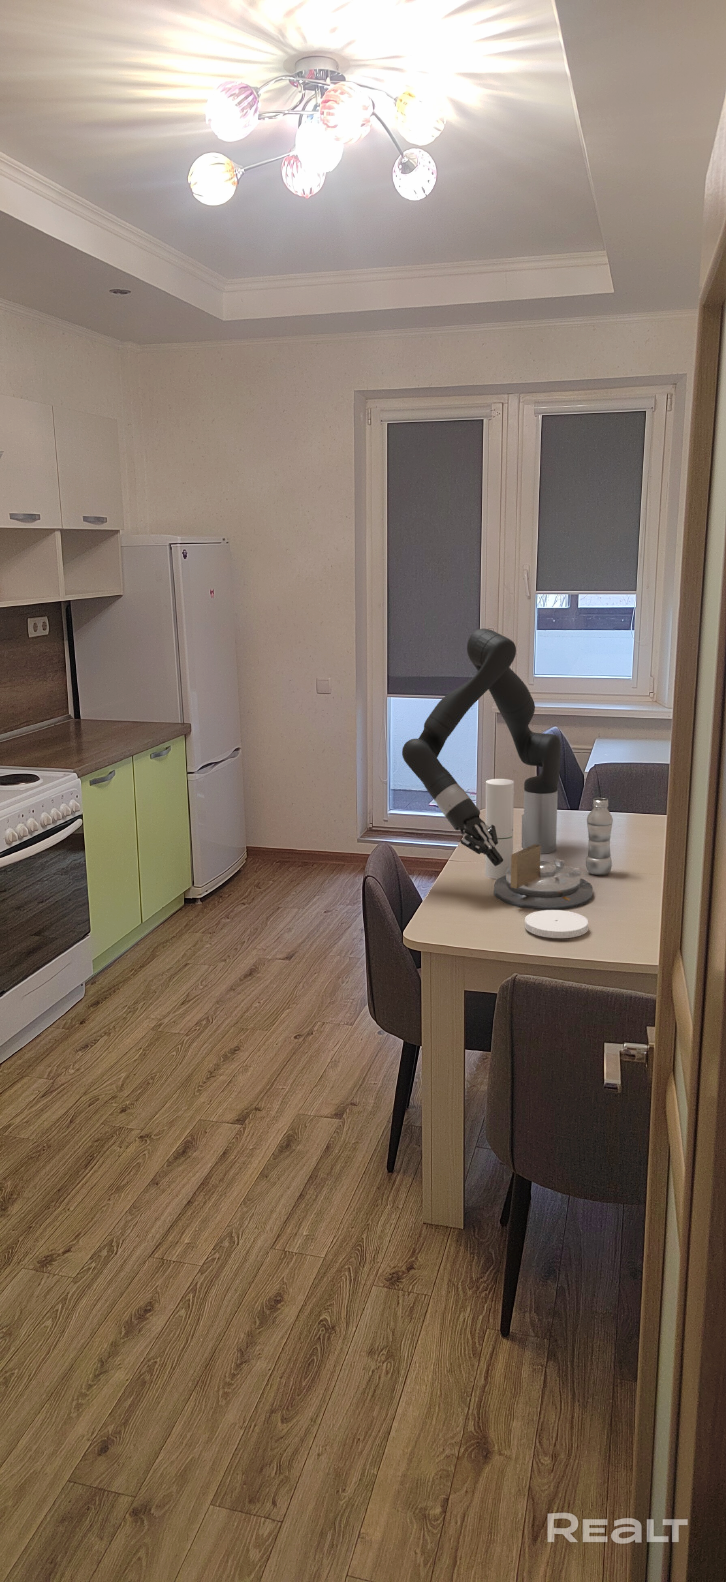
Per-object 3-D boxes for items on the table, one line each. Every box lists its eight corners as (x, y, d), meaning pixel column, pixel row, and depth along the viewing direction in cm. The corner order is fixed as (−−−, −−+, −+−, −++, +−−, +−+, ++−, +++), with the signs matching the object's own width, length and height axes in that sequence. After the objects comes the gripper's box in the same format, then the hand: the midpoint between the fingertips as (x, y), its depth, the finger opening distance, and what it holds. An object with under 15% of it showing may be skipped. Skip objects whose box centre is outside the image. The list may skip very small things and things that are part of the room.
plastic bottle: (612, 878, 268) (614, 802, 263) (585, 877, 269) (587, 802, 265) (611, 870, 274) (614, 796, 270) (585, 869, 275) (587, 796, 271)
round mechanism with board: (529, 869, 269) (530, 828, 266) (593, 882, 258) (594, 839, 255) (481, 892, 251) (481, 849, 249) (547, 907, 240) (548, 861, 238)
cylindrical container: (514, 872, 274) (516, 779, 269) (509, 880, 268) (510, 785, 262) (488, 869, 277) (489, 778, 271) (482, 877, 270) (483, 784, 265)
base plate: (476, 886, 264) (476, 877, 263) (558, 874, 272) (559, 866, 272) (524, 915, 242) (524, 906, 241) (612, 901, 250) (612, 893, 250)
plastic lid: (518, 921, 239) (518, 911, 239) (577, 919, 240) (578, 908, 240) (532, 944, 226) (533, 933, 225) (596, 941, 227) (596, 930, 226)
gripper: (450, 802, 246) (494, 861, 241) (481, 792, 256) (523, 848, 251) (432, 821, 251) (475, 879, 246) (463, 810, 261) (504, 865, 256)
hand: (499, 863), depth 249 cm, fingers closed
